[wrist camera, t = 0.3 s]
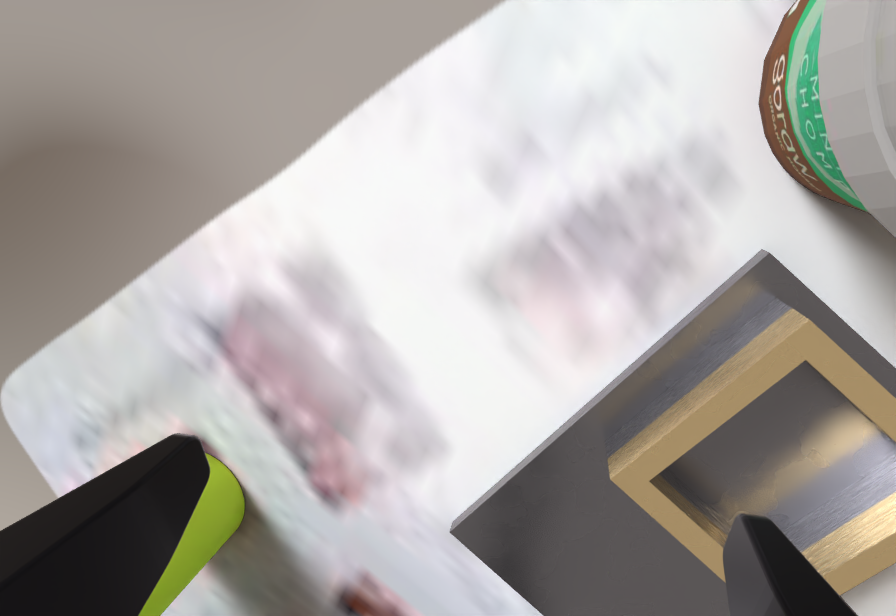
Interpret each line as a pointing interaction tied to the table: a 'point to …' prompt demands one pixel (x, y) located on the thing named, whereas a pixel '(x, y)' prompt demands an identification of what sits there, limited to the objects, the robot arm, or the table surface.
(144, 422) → the table surface
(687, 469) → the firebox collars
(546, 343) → the table surface
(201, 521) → the soap dispenser
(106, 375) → the table surface
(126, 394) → the table surface
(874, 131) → the food container
